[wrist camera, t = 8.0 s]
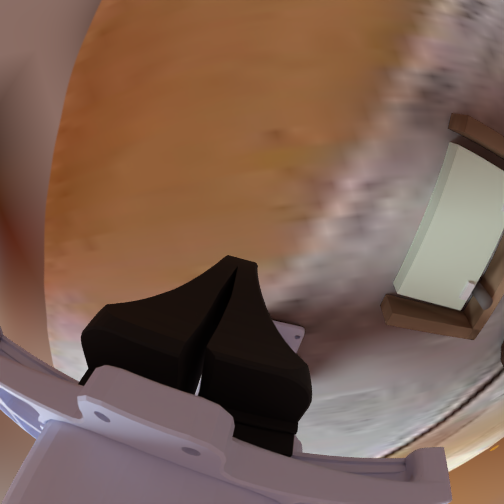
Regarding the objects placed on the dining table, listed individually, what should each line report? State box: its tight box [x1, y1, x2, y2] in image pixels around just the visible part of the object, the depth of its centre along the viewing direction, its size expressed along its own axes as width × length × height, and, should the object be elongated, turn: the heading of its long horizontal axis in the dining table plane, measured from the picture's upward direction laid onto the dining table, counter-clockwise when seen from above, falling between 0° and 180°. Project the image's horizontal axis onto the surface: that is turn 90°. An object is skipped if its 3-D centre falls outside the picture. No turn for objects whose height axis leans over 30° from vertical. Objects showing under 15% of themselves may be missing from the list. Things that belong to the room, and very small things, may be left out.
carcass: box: [380, 113, 504, 340], centre depth 18 cm, size 16×10×3 cm, turn 169°
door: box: [393, 142, 504, 310], centre depth 18 cm, size 12×7×2 cm, turn 168°
